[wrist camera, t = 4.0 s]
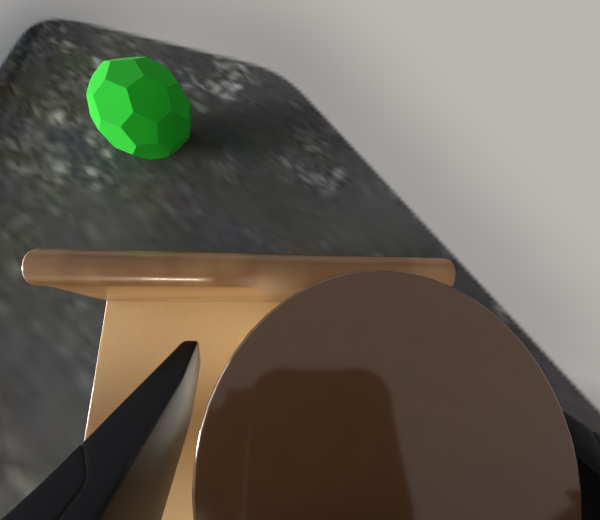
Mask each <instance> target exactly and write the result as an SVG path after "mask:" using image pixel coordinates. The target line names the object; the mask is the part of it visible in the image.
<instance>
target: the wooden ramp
mask: <svg viewBox="0 0 600 520" xmlns="http://www.w3.org/2000/svg"><path fill="white" fill-rule="evenodd" d="M366 270H392V271H399V272H407V273H412V274H416V275H420V276H424V277H428V278H431V279H434V280H436V281H439V282H441V283H444V284H446V285H449V286H451V287H452V286H453V285H454V282H455V278H456V272H455V267H454V265H453V263H452V262H451V261H450V260H448V259H446V258H412V257H372V256H332V255H292V254H252V253H212V252H172V251H132V250H92V249H52V248H36V249H33V250H31V251H29V252H28V253H27V254H26V255H25V257H24V259H23V261H22V274H23V277H24V279H25V280H26V281H27V282H28V283H29V284H32V285H34V286H51V287H55V288H59V289H63V290H67V291H71V292H75V293H79V294H83V295H87V296H91V297H95V298H99V299H103V300H107V303H106V310H105V316H104V322H103V328H102V334H101V341H100V347H99V353H98V359H97V365H96V371H95V378H94V384H93V390H92V396H91V402H90V408H89V415H88V421H87V427H86V433H85V439H84V441H85V440H86V439H87V438H88V437H89V436H90V435H91V434H92V433H93V432H94V431H95V430H96V429H97V428H98V427H99V426H100V425H101V424H102V423H103V422H104V421H105V420H106V419H107V418H108V417H109V416H110V415H111V414H112V413H113V412H114V410H115V409H116V408H117V407H118V406H119V405H120V404H121V403H122V402H123V401H124V400H125V399H126V398H127V397H128V396H129V395H130V394H131V393H132V392H133V391H134V390H135V389H136V388H137V387H138V386H139V385H140V384H141V383H142V382H143V381H144V380H145V379H146V378H147V377H148V376H149V375H150V374H151V373H152V372H153V371H154V370H155V369H156V368H157V367H158V366H159V365H160V364H161V363H162V362H163V361H164V360H165V359H166V358H167V357H168V356H169V355H170V354H171V353H172V352H173V351H174V350H175V349H176V348H177V347H178V346H179V345H180V344H181V343H182V342H183V341H197V342H198V343H199V350H200V359H201V365H200V372H199V377H198V383H197V389H196V394H195V400H194V406H193V411H192V416H191V420H190V424H189V428H188V431H187V435H186V438H185V441H184V445H183V448H182V452H181V455H180V458H179V462H178V465H177V468H176V472H175V475H174V479H173V482H172V485H171V489H170V492H169V496H168V499H167V502H166V506H165V509H164V512H163V516H162V519H161V520H193V508H192V484H193V466H194V459H195V453H196V447H197V441H198V436H199V431H200V428H201V424H202V421H203V418H204V414H205V411H206V407H207V404H208V402H209V399H210V397H211V395H212V392H213V390H214V388H215V385H216V383H217V381H218V378H219V376H220V375H221V373H222V371H223V369H224V368H225V366H226V364H227V363H228V361H229V359H230V357H231V356H232V354H233V352H234V351H235V350H236V349H237V347H238V346H239V345H240V343H241V342H242V341H243V339H244V338H245V337H246V335H247V334H248V333H249V332H250V331H251V330H252V329H253V327H254V326H255V325H256V324H257V323H258V322H259V321H260V320H261V319H262V318H263V317H264V316H265V315H266V314H267V313H269V312H270V311H271V310H273V309H274V308H275V307H276V306H278V305H279V304H280V303H281V302H283V301H284V300H285V299H287V298H289V297H290V296H292V295H294V294H295V293H297V292H299V291H300V290H302V289H304V288H305V287H308V286H310V285H312V284H315V283H317V282H319V281H322V280H324V279H327V278H331V277H334V276H338V275H341V274H345V273H351V272H358V271H366Z"/></svg>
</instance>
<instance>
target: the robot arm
mask: <svg viewBox="0 0 600 520" xmlns="http://www.w3.org/2000/svg"><path fill="white" fill-rule="evenodd" d="M200 365H201V359H200V350H199V343H198V342H197V341H183V342H182V343H181V344H180V345H179V346H178V347H177V348H176V349H175V350H174V351H173V352H172V353H171V354H170V355H169V356H168V357H167V358H166V359H165V360H164V361H163V362H162V363H161V364H160V365H159V366H158V367H157V368H156V369H155V370H154V371H153V372H152V373H151V374H150V375H149V376H148V377H147V378H146V379H145V380H144V381H143V382H142V383H141V384H140V385H139V386H138V387H137V388H136V389H135V390H134V391H133V392H132V393H131V394H130V395H129V396H128V397H127V398H126V399H125V400H124V401H123V402H122V403H121V404H120V405H119V406H118V407H117V408H116V409H115V410H114V412H113V413H112V414H111V415H110V416H109V417H108V418H107V419H106V420H105V421H104V422H103V423H102V424H101V425H100V426H99V427H98V428H97V429H96V430H95V431H94V432H93V433H92V434H91V435H90V436H89V437H88V438H87V439H86V440H85V441H84V442H83V446H82V445H80V446H79V447H78V448H77V449H76V450H75V451H74V452H73V453H72V454H71V455H70V456H69V457H68V458H67V459H66V460H65V461H64V462H63V463H62V464H61V465H60V466H59V467H58V468H57V469H56V470H54V471H53V472H52V473H51V474H50V475H49V476H48V477H47V478H46V479H45V480H44V481H43V482H42V483H41V484H40V485H39V486H38V487H37V488H36V489H35V490H33V491H32V492H31V493H30V494H29V495H28V496H27V497H26V498H25V499H24V500H22V501H21V502H20V503H19V504H18V505H17V506H16V507H15V508H14V509H13V510H11V511H10V512H9V513H8V514H7V515H6V516H5V517H3V518H2V519H1V520H161V519H162V516H163V512H164V509H165V506H166V502H167V499H168V496H169V492H170V489H171V485H172V482H173V479H174V475H175V472H176V468H177V465H178V462H179V458H180V455H181V452H182V448H183V445H184V441H185V438H186V435H187V431H188V428H189V424H190V420H191V416H192V411H193V406H194V400H195V394H196V389H197V383H198V377H199V372H200ZM562 411H563V410H562ZM563 414H564V417H565V420H566V423H567V426H568V428H569V431H570V434H571V438H572V442H573V446H574V450H575V455H576V459H577V463H578V471H579V478H580V486H581V497H582V520H600V435H599V434H597V433H596V432H592V430H591V429H590V428H588V427H587V426H585V425H584V424H582V423H581V422H580V421H578V420H577V419H575V418H574V417H572V416H571V415H569V414H568V413H566V412H565V411H563Z"/></svg>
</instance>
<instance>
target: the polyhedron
mask: <svg viewBox="0 0 600 520" xmlns="http://www.w3.org/2000/svg"><path fill="white" fill-rule="evenodd" d="M86 94H87V100H88V105H89V111H90V115H91V117H92V119H93V121H94V122H95V124H96V126H97V128H98V130H99V131H100V132H101V133H102V134H103V135H104V136H105V137H106V139H107V140H108V141H109V142H110V143H111V144H112V145H113V146H114V147H116V148H118V149H120V150H123V151H125V152H128V153H130V154H133V155H135V156H138V157H141V158H144V159H147V160H152V159H159V158H166V157H168V156H170V155H172V154H173V153H175V152H176V151H178V150H179V149H180V148H181V147H182V146H183V145H184V144H185V142H186V141H187V140H188V139H189V135H190V130H191V124H192V105H191V103H190V102H189V100H188V98H187V97H186V95H185V94H184V92H183V90H182V89H181V87H180V85H179V84H178V82H177V81H176V79H175V78H174V76H173V74H172V73H171V71H170V70H169V69H168V68H166V67H164V66H163V65H161V64H159V63H157V62H155V61H154V60H152V59H150V58H148V57H129V58H118V59H112V60H106V61H103V62H102V63H101V65H100V66H99V67H98V69H97V70H96V71H95V73H94V74H93V75H92V77H91V80H90V83H89V86H88V89H87V93H86Z"/></svg>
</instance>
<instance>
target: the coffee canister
mask: <svg viewBox="0 0 600 520" xmlns="http://www.w3.org/2000/svg"><path fill="white" fill-rule="evenodd" d="M192 508H193V520H582V497H581V486H580V478H579V471H578V463H577V459H576V455H575V450H574V446H573V442H572V438H571V434H570V431H569V428H568V426H567V423H566V420H565V417H564V414H563V411H562V409H561V406H560V404H559V402H558V400H557V398H556V396H555V393H554V391H553V389H552V387H551V385H550V383H549V382H548V380H547V378H546V376H545V375H544V373H543V371H542V370H541V368H540V366H539V364H538V363H537V362H536V360H535V359H534V358H533V356H532V355H531V353H530V352H529V351H528V349H527V348H526V347H525V345H524V344H523V343H522V342H521V341H520V339H519V338H518V337H517V336H516V335H515V334H514V333H513V332H512V331H511V330H510V328H509V327H508V326H507V325H506V324H504V323H503V322H502V321H501V320H500V319H499V318H498V317H497V316H496V315H494V314H493V313H492V312H491V311H490V310H488V309H487V308H486V307H484V306H483V305H481V304H480V303H479V302H477V301H476V300H474V299H473V298H471V297H470V296H468V295H466V294H464V293H462V292H461V291H459V290H457V289H455V288H453V287H451V286H449V285H446V284H444V283H441V282H439V281H436V280H434V279H431V278H428V277H424V276H420V275H416V274H412V273H407V272H399V271H392V270H366V271H358V272H351V273H345V274H341V275H338V276H334V277H331V278H327V279H324V280H322V281H319V282H317V283H315V284H312V285H310V286H308V287H305V288H304V289H302V290H300V291H299V292H297V293H295V294H294V295H292V296H290V297H289V298H287V299H285V300H284V301H283V302H281V303H280V304H279V305H278V306H276V307H275V308H274V309H273V310H271V311H270V312H269V313H267V314H266V315H265V316H264V317H263V318H262V319H261V320H260V321H259V322H258V323H257V324H256V325H255V326H254V327H253V329H252V330H251V331H250V332H249V333H248V334H247V335H246V337H245V338H244V339H243V341H242V342H241V343H240V345H239V346H238V347H237V349H236V350H235V351H234V352H233V354H232V356H231V357H230V359H229V361H228V363H227V364H226V366H225V368H224V369H223V371H222V373H221V375H220V376H219V378H218V381H217V383H216V385H215V388H214V390H213V392H212V395H211V397H210V399H209V402H208V404H207V407H206V411H205V414H204V418H203V421H202V424H201V428H200V431H199V436H198V441H197V447H196V453H195V459H194V466H193V484H192Z"/></svg>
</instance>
